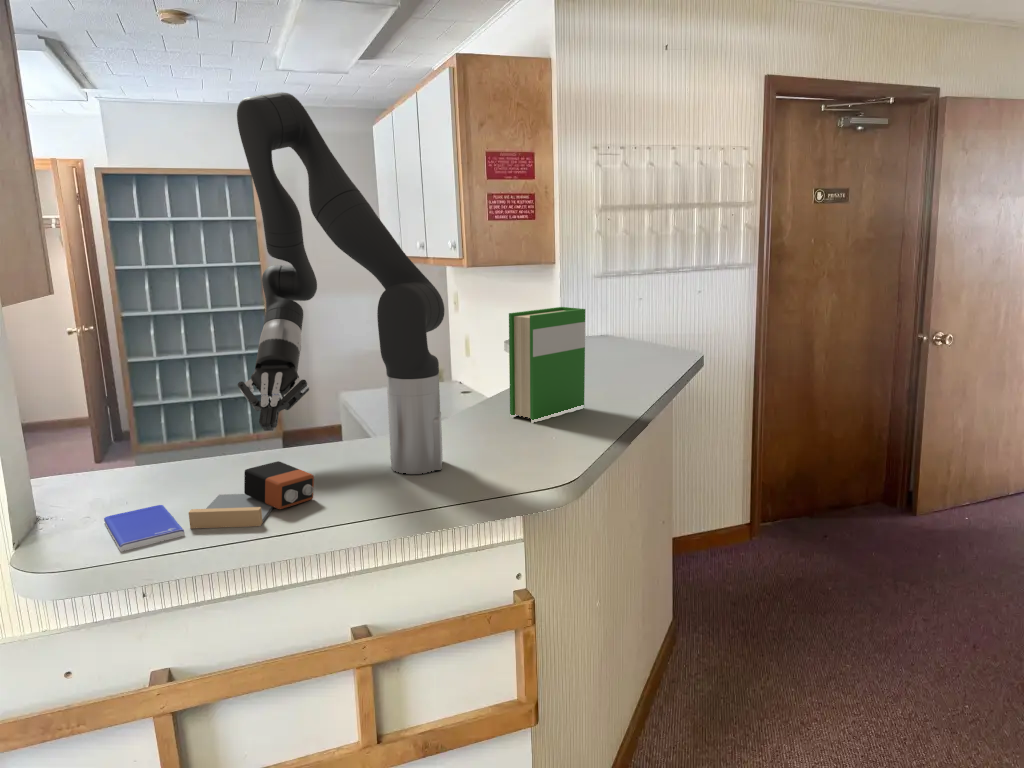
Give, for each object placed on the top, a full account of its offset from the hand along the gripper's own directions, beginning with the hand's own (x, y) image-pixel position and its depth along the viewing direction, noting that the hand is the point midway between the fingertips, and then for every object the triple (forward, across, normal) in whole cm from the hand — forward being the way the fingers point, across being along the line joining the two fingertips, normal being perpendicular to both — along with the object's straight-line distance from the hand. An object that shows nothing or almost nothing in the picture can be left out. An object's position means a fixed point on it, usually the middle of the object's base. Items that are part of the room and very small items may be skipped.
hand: (267, 428), depth 124 cm
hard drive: (+23, -12, -10) cm, 28 cm away
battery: (+11, +1, -4) cm, 12 cm away
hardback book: (-20, +54, +33) cm, 66 cm away
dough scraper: (+18, 0, -6) cm, 19 cm away
